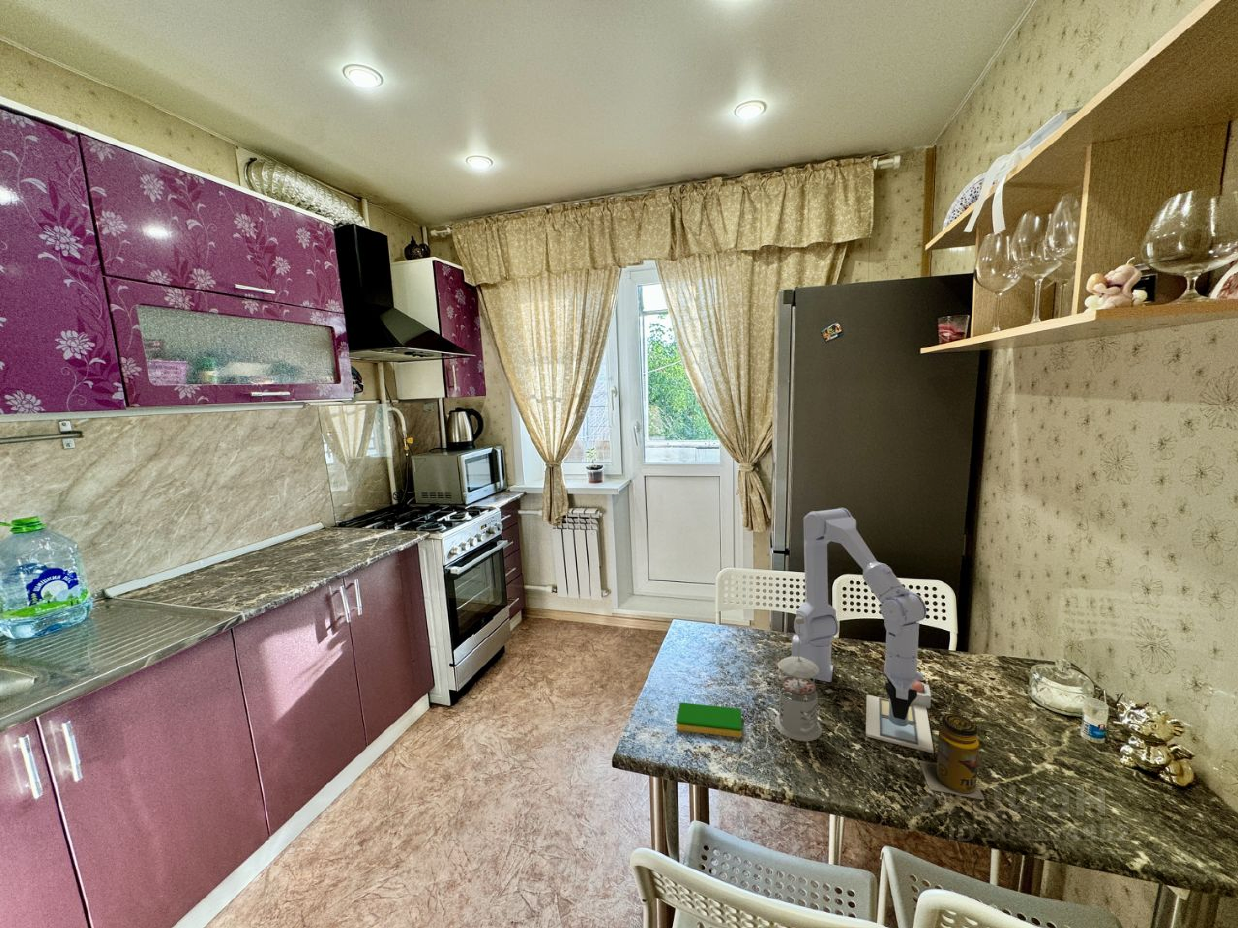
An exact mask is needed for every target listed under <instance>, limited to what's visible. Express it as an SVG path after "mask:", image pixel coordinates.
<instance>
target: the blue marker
mask: <svg viewBox="0 0 1238 928" xmlns="http://www.w3.org/2000/svg"><path fill="white" fill-rule="evenodd" d="M888 699H889V721H890V722H891V723H893V724H895V725H898V726H907V725H908V716H909V710H908V714H907V717H906V719H905V720H902V719H898V718H894V716H893V712H892V706H891V701H890V698H888Z"/></svg>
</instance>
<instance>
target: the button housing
mask: <svg viewBox="0 0 1238 928" xmlns="http://www.w3.org/2000/svg"><path fill="white" fill-rule="evenodd" d="M920 682H921V681H920ZM921 683H922V684H923V693H919V692H917V697H916V698H915V699H914V700H913V702H912V703H911V704H912V705H916V706H921V707H925V708H926V709H931V704H932V703H931V701H932V695H931V689H930V685H929V684H926V683H924V682H921Z"/></svg>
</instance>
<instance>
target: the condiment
mask: <svg viewBox="0 0 1238 928" xmlns="http://www.w3.org/2000/svg"><path fill="white" fill-rule="evenodd" d="M937 742H938V744H937V757H936V758H937V761H936V763H935V762H929V761H925V760H919V759H918V763H919V766H920V768H921V771H922V773H923V777H924V779H925V781H926V783H927V787H928V788H929V790H930V791H937V792H942V793H946V794H947V793H949V794H952V795H955V796H961V797H967V798H971V799H978V800H985V797H984V795H983V793H982V791H981V789H980V788H979V786H978V784H977V778H978V767H979V765H978V763H979V751H980V750H979V749H980V743H979V739H978V728H977V726H976V724H975V722H973V721H972V720H971V719H969V718H968V717H965V716H963V715H960V714H955V713H947V714H945V715H944V716H943V717H942V718H941V725H940V728H939V730H938V741H937Z"/></svg>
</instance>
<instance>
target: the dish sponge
mask: <svg viewBox="0 0 1238 928" xmlns="http://www.w3.org/2000/svg"><path fill="white" fill-rule="evenodd" d="M676 716H677V717H676V730H677V731H684V732H690V733H701V734H710V735H715V736H724V737H725V736H727V737H733V738H734V737H736V738H741V737H742V736H743V732H742V730H743V728H742V727H743V725H742V709H741V708H739V707H729V706H720V705H709V704H702V703H701V704H700V703H689V702H679V704H678V710H677V715H676Z"/></svg>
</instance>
